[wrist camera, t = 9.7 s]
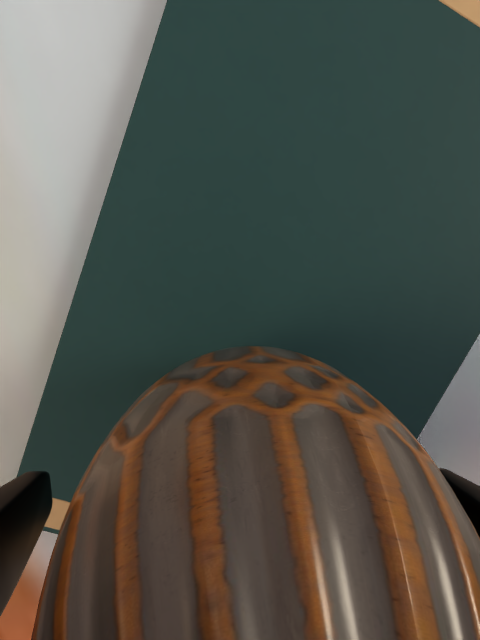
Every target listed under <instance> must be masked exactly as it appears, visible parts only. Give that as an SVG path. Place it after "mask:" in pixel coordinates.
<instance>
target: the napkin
mask: <svg viewBox="0 0 480 640" xmlns="http://www.w3.org/2000/svg"><path fill="white" fill-rule="evenodd" d="M479 334H480V0H167V3H166V6H165V9H164V13H163V16H162V19H161V22H160V25H159V28H158V32H157V35H156V38H155V41H154V44H153V47H152V51H151V54H150V57H149V60H148V63H147V66H146V70H145V73H144V76H143V79H142V82H141V85H140V89H139V92H138V95H137V98H136V101H135V104H134V107H133V111H132V114H131V117H130V120H129V123H128V126H127V130H126V133H125V136H124V139H123V142H122V145H121V149H120V152H119V155H118V158H117V161H116V164H115V168H114V171H113V174H112V177H111V180H110V183H109V187H108V190H107V193H106V196H105V199H104V202H103V206H102V209H101V212H100V215H99V218H98V221H97V225H96V228H95V231H94V234H93V237H92V240H91V243H90V247H89V250H88V253H87V256H86V259H85V262H84V266H83V269H82V272H81V275H80V278H79V281H78V285H77V288H76V291H75V294H74V297H73V300H72V304H71V307H70V310H69V313H68V316H67V319H66V323H65V326H64V329H63V332H62V335H61V338H60V342H59V345H58V348H57V351H56V354H55V357H54V360H53V364H52V367H51V370H50V373H49V376H48V379H47V383H46V386H45V389H44V392H43V395H42V398H41V402H40V405H39V408H38V411H37V414H36V417H35V421H34V424H33V427H32V430H31V433H30V436H29V440H28V443H27V446H26V449H25V452H24V455H23V459H22V462H21V465H20V468H19V471H18V474H17V477H19V476H20V475H22V474H24V473H26V472H29V471H46V472H48V473H49V475H50V480H51V490H52V499H53V503H52V509H51V512H50V515H49V517H48V519H47V521H46V523H45V526H44V528H43V531H47V532H51V533H55V534H59V531H60V528H61V525H62V522H63V520H64V517H65V515H66V512H67V510H68V507H69V505H70V503H71V500H72V498H73V495H74V493H75V491H76V488H77V486H78V484H79V482H80V481H81V479H82V477H83V475H84V473H85V471H86V469H87V468H88V466H89V464H90V462H91V461H92V459H93V457H94V455H95V454H96V452H97V451H98V449H99V448H100V446H101V444H102V443H103V441H104V440H105V439H106V437H107V436H108V434H109V433H110V431H111V430H112V429H113V427H114V426H115V425H116V423H117V422H118V421H119V419H120V418H121V417H122V416H123V414H124V413H125V412H126V411H127V410H128V408H129V407H130V406H131V405H132V404H133V403H134V402H135V401H136V399H137V398H138V397H139V396H140V395H141V394H142V393H143V392H145V391H146V390H147V389H148V388H149V387H150V386H151V385H153V384H154V383H155V382H156V381H158V380H159V379H160V378H162V377H163V376H164V375H166V374H167V373H169V372H170V371H172V370H173V369H175V368H177V367H178V366H180V365H182V364H184V363H186V362H188V361H190V360H192V359H194V358H197V357H199V356H202V355H204V354H207V353H211V352H214V351H217V350H222V349H226V348H232V347H241V346H264V347H274V348H280V349H285V350H290V351H293V352H297V353H300V354H303V355H306V356H308V357H311V358H314V359H316V360H318V361H321V362H323V363H325V364H327V365H329V366H331V367H333V368H335V369H336V370H338V371H339V372H341V373H342V374H344V375H345V376H347V377H348V378H350V379H351V380H353V381H354V382H356V383H357V384H358V385H360V386H361V387H362V388H364V389H365V390H366V391H367V392H369V393H370V394H371V395H372V396H373V397H375V398H376V399H377V400H378V401H380V402H381V403H382V404H383V405H384V406H385V407H386V408H387V409H388V410H389V411H390V412H391V413H392V414H393V415H394V416H395V417H396V418H397V419H398V420H399V421H400V422H401V423H402V424H403V425H405V427H406V428H407V429H408V430H409V431H410V432H411V433H412V434H413V436H414V437H415V438H416V439H417V438H418V436H419V434H420V433H421V431H422V429H423V428H424V426H425V424H426V423H427V421H428V419H429V418H430V416H431V414H432V413H433V411H434V409H435V408H436V406H437V404H438V402H439V401H440V399H441V397H442V396H443V394H444V392H445V391H446V389H447V387H448V386H449V384H450V382H451V381H452V379H453V377H454V376H455V374H456V372H457V371H458V369H459V367H460V365H461V364H462V362H463V360H464V359H465V357H466V355H467V354H468V352H469V350H470V349H471V347H472V345H473V344H474V342H475V340H476V339H477V337H478V335H479ZM17 477H16V478H17Z"/></svg>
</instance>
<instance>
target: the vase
mask: <svg viewBox="0 0 480 640" xmlns="http://www.w3.org/2000/svg"><path fill="white" fill-rule="evenodd" d="M31 640H480V538H479V536H478V534H477V532H476V530H475V528H474V526H473V524H472V522H471V521H470V519H469V517H468V516H467V514H466V512H465V511H464V509H463V507H462V505H461V504H460V502H459V500H458V499H457V497H456V495H455V493H454V492H453V490H452V488H451V487H450V485H449V484H448V482H447V481H446V479H445V478H444V476H443V475H442V473H441V472H440V470H439V469H438V467H437V466H436V464H435V463H434V461H433V460H432V459H431V457H430V456H429V455H428V453H427V452H426V451H425V449H424V448H423V447H422V446H421V444H420V443H419V442H418V441H417V439H416V438H415V437H414V436H413V434H412V433H411V432H410V431H409V430H408V429H407V428H406V427H405V425H403V424H402V423H401V422H400V421H399V420H398V419H397V418H396V417H395V416H394V415H393V414H392V413H391V412H390V411H389V410H388V409H387V408H386V407H385V406H384V405H383V404H382V403H381V402H380V401H378V400H377V399H376V398H375V397H373V396H372V395H371V394H370V393H369V392H367V391H366V390H365V389H364V388H362V387H361V386H360V385H358V384H357V383H356V382H354V381H353V380H351V379H350V378H348V377H347V376H345V375H344V374H342V373H341V372H339V371H338V370H336V369H335V368H333V367H331V366H329V365H327V364H325V363H323V362H321V361H318V360H316V359H314V358H311V357H308V356H306V355H303V354H300V353H297V352H293V351H290V350H285V349H280V348H274V347H264V346H241V347H232V348H226V349H222V350H217V351H214V352H211V353H207V354H204V355H202V356H199V357H197V358H194V359H192V360H190V361H188V362H186V363H184V364H182V365H180V366H178V367H177V368H175V369H173V370H172V371H170V372H169V373H167V374H166V375H164V376H163V377H162V378H160V379H159V380H158V381H156V382H155V383H154V384H153V385H151V386H150V387H149V388H148V389H147V390H146V391H145V392H143V393H142V394H141V395H140V396H139V397H138V398H137V399H136V401H135V402H134V403H133V404H132V405H131V406H130V407H129V408H128V410H127V411H126V412H125V413H124V414H123V416H122V417H121V418H120V419H119V421H118V422H117V423H116V425H115V426H114V427H113V429H112V430H111V431H110V433H109V434H108V436H107V437H106V439H105V440H104V441H103V443H102V444H101V446H100V448H99V449H98V451H97V452H96V454H95V455H94V457H93V459H92V461H91V462H90V464H89V466H88V468H87V469H86V471H85V473H84V475H83V477H82V479H81V481H80V482H79V484H78V486H77V488H76V491H75V493H74V495H73V498H72V500H71V503H70V505H69V507H68V510H67V512H66V515H65V517H64V520H63V522H62V525H61V528H60V531H59V534H58V537H57V540H56V543H55V546H54V549H53V552H52V555H51V559H50V562H49V566H48V570H47V573H46V577H45V581H44V585H43V588H42V592H41V596H40V600H39V604H38V609H37V614H36V619H35V623H34V628H33V633H32V638H31Z"/></svg>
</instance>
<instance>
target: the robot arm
mask: <svg viewBox="0 0 480 640" xmlns="http://www.w3.org/2000/svg"><path fill="white" fill-rule="evenodd" d="M438 469H439V470H440V472H441V473H442V475H443V476H444V478H445V479H446V481H447V482H448V484H449V485H450V487H451V488H452V490H453V492H454V493H455V495H456V497H457V499H458V500H459V502H460V504H461V505H462V507H463V509H464V511H465V512H466V514H467V516H468V517H469V519H470V521H471V522H472V524H473V526H474V528H475V530H476V532H477V534H478V536H479V538H480V486H478V485H476V484H474V483H472V482H470V481H468V480H467V479H465V478H463V477H461V476H459V475H457V474H455V473H453V472H451V471H449V470H447V469H443V468H438ZM52 503H53V499H52V490H51V480H50V475H49V473H48V472H46V471H29V472H26V473H24V474H22V475H20V476H19V477H17V478H15V479H14V480H12V481H10V482H8V483H7V484H5V485H3V486H2V487H0V616H1V614H2V612H3V610H4V609H5V607H6V605H7V603H8V601H9V599H10V597H11V595H12V593H13V591H14V589H15V587H16V585H17V583H18V581H19V579H20V577H21V575H22V573H23V570H24V568H25V566H26V564H27V562H28V560H29V558H30V555H31V553H32V551H33V549H34V547H35V545H36V543H37V541H38V538H39V536H40V534H41V532H42V530H43V528H44V526H45V523H46V521H47V519H48V517H49V515H50V512H51V509H52Z"/></svg>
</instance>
